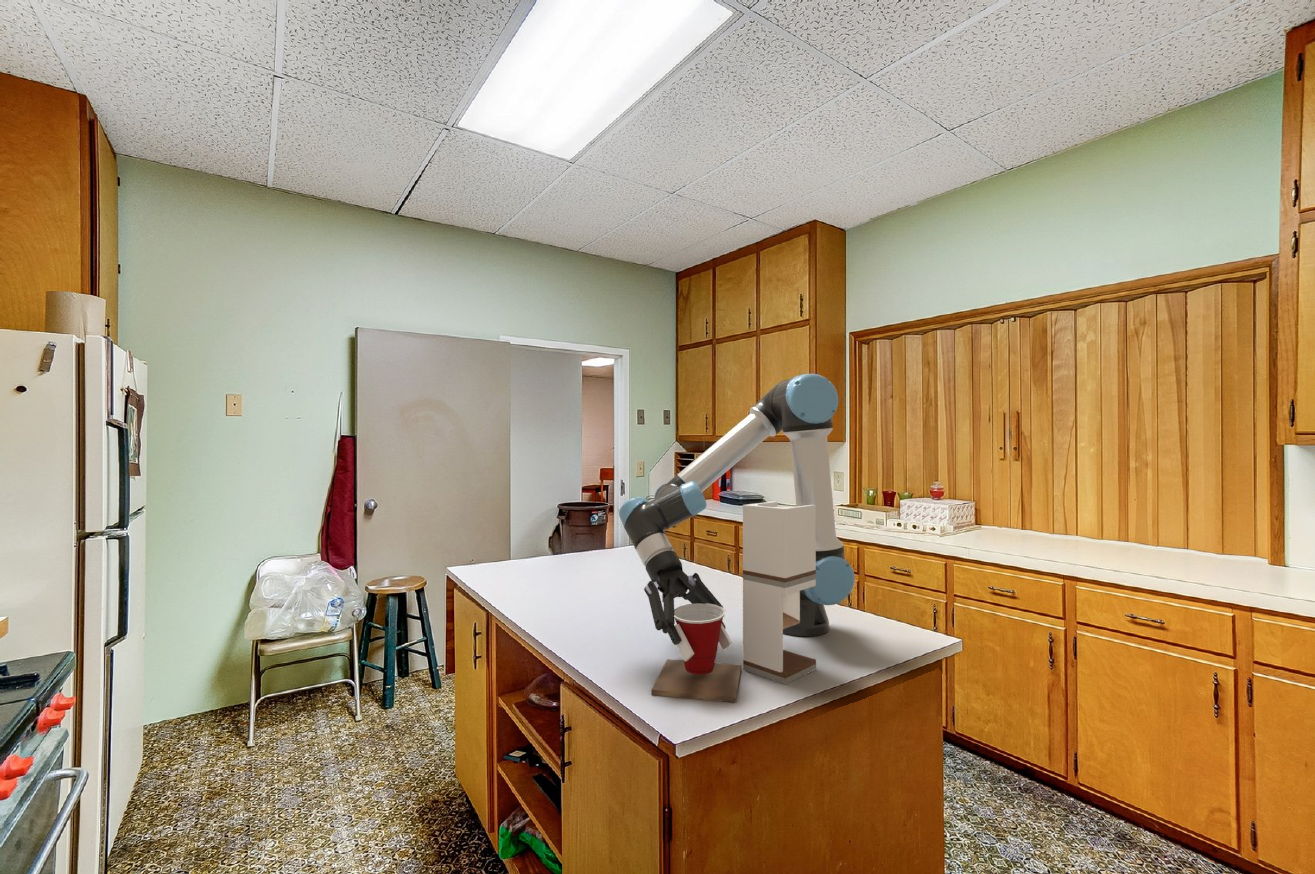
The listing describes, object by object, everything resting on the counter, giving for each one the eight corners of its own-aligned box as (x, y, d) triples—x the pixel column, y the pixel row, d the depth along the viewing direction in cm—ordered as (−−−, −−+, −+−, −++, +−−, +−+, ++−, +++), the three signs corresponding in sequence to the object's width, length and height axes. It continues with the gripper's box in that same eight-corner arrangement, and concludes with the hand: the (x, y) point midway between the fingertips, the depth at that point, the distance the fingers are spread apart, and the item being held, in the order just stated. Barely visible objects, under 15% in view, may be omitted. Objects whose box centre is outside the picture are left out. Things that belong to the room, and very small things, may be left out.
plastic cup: (660, 669, 117) (660, 609, 117) (696, 655, 124) (696, 599, 124) (701, 685, 109) (701, 621, 109) (736, 669, 117) (736, 610, 117)
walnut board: (741, 669, 123) (741, 665, 123) (735, 702, 107) (735, 697, 107) (667, 663, 126) (667, 659, 126) (651, 694, 110) (651, 689, 110)
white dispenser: (785, 684, 115) (784, 509, 116) (743, 669, 123) (742, 504, 123) (816, 669, 123) (815, 505, 124) (774, 656, 131) (774, 501, 131)
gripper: (689, 563, 136) (738, 649, 123) (610, 576, 122) (656, 674, 109) (705, 543, 132) (757, 630, 119) (625, 554, 118) (674, 654, 105)
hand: (709, 651), depth 114 cm, fingers closed on plastic cup, 10 cm apart
